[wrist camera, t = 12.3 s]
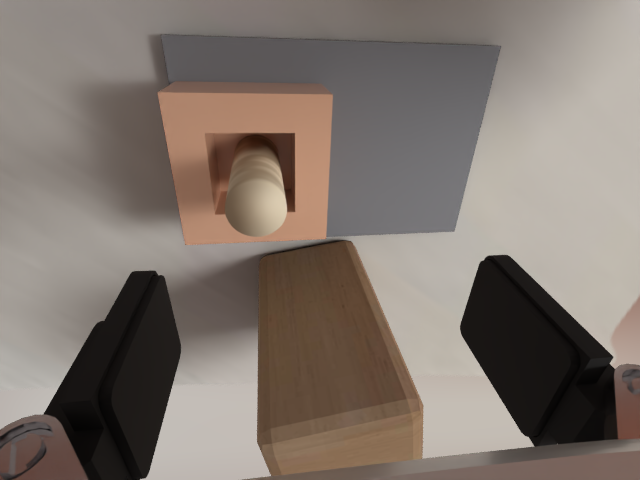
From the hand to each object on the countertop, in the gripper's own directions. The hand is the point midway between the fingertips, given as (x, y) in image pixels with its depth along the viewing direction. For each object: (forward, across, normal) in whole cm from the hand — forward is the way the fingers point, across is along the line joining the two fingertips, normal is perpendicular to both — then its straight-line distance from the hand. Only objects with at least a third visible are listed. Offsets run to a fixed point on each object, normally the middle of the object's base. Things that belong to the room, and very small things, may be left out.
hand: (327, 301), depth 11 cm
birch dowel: (+21, +3, +2) cm, 21 cm away
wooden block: (+23, -2, +17) cm, 29 cm away
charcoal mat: (+23, -4, +2) cm, 24 cm away
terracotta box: (+22, +3, +2) cm, 22 cm away
